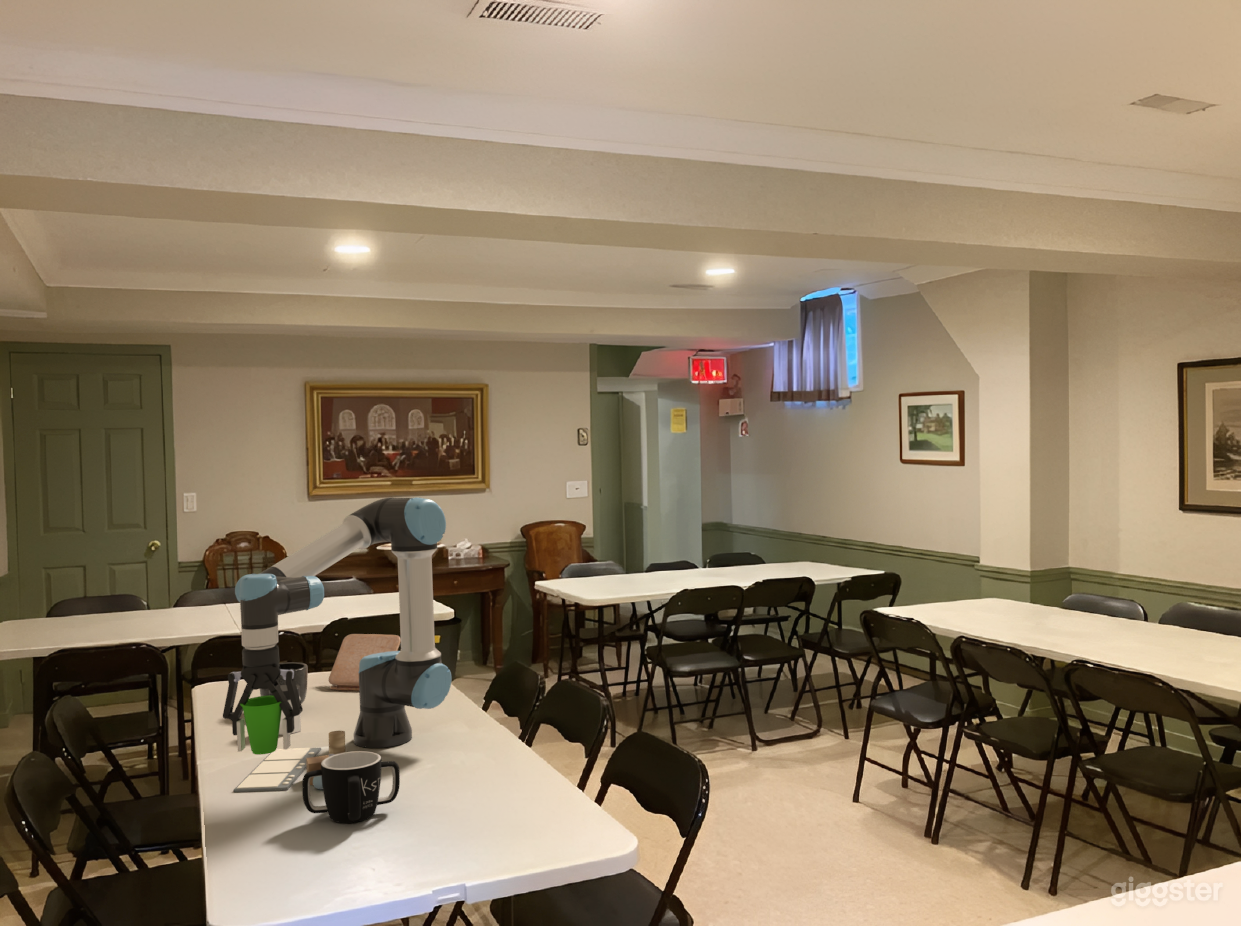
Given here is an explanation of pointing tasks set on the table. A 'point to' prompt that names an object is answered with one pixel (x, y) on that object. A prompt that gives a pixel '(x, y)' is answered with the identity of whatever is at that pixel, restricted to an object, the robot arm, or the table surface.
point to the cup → (262, 723)
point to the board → (278, 770)
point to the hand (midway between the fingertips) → (264, 748)
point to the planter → (299, 678)
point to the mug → (351, 786)
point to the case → (358, 657)
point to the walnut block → (314, 764)
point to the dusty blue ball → (317, 782)
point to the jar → (296, 718)
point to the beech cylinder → (336, 742)
